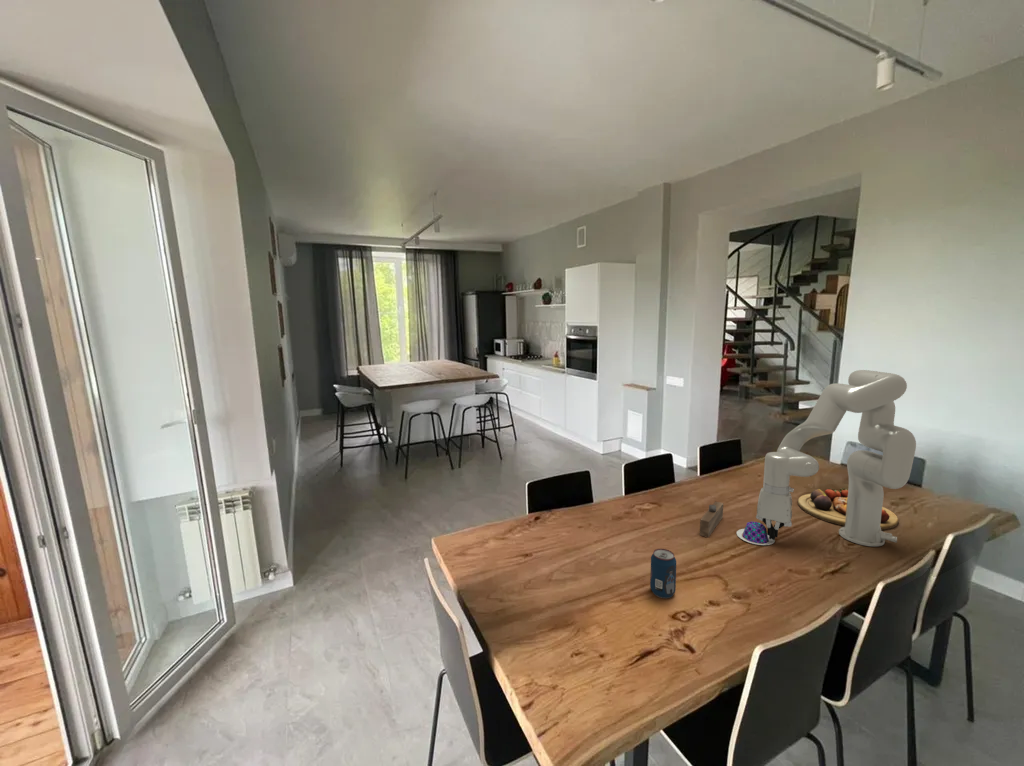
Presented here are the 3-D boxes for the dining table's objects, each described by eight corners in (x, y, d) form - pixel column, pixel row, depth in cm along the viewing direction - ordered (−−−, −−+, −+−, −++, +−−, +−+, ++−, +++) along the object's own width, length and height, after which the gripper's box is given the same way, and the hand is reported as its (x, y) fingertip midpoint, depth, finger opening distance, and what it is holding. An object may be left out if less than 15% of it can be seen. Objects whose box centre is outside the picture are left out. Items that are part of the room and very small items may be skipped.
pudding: (758, 550, 146) (759, 535, 145) (728, 534, 157) (729, 520, 156) (782, 542, 150) (783, 528, 149) (752, 527, 161) (753, 514, 160)
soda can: (655, 582, 128) (656, 544, 127) (678, 590, 124) (680, 552, 122) (646, 593, 123) (647, 555, 121) (670, 603, 119) (671, 563, 117)
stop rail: (722, 517, 169) (723, 498, 168) (708, 537, 154) (709, 516, 153) (714, 515, 171) (715, 496, 170) (699, 535, 156) (700, 514, 155)
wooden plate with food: (922, 532, 155) (924, 510, 154) (832, 531, 156) (834, 509, 155) (855, 498, 187) (857, 479, 186) (781, 497, 188) (782, 479, 187)
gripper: (802, 489, 145) (798, 540, 148) (753, 480, 154) (750, 527, 157) (800, 497, 139) (796, 549, 142) (749, 486, 149) (746, 536, 151)
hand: (772, 538), depth 150 cm, fingers closed
